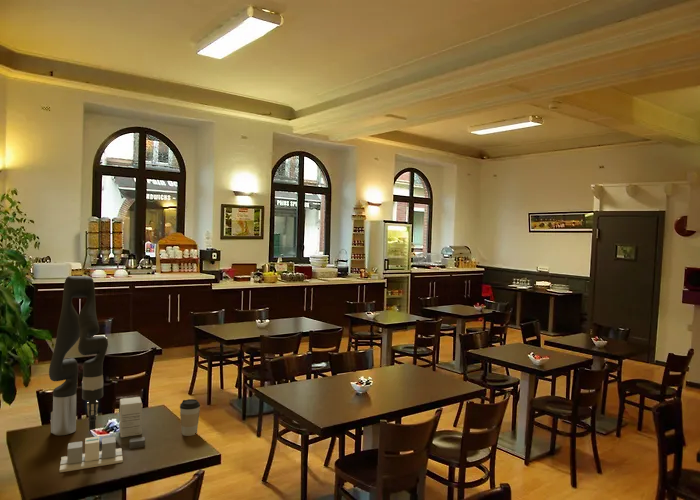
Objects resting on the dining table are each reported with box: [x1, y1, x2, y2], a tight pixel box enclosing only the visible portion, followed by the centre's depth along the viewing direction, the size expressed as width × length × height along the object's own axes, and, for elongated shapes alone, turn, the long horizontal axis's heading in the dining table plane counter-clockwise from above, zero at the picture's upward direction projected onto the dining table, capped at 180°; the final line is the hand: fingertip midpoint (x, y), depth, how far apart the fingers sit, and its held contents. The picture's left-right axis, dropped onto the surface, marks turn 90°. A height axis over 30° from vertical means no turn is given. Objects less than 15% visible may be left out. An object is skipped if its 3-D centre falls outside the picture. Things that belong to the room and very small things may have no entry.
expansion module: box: [84, 436, 100, 461], centre depth 203 cm, size 5×6×7 cm
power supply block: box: [129, 436, 146, 449], centre depth 219 cm, size 6×4×3 cm, turn 114°
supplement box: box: [119, 396, 143, 438], centre depth 232 cm, size 9×9×15 cm
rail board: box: [59, 436, 124, 473], centre depth 203 cm, size 22×12×7 cm, turn 116°
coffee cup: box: [179, 398, 201, 437], centre depth 234 cm, size 9×9×15 cm
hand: (92, 429), depth 203 cm, fingers closed
